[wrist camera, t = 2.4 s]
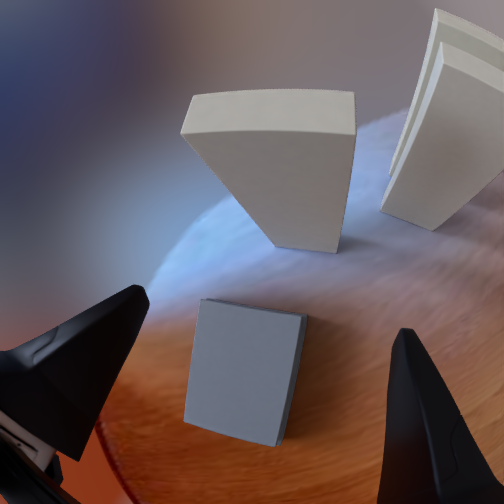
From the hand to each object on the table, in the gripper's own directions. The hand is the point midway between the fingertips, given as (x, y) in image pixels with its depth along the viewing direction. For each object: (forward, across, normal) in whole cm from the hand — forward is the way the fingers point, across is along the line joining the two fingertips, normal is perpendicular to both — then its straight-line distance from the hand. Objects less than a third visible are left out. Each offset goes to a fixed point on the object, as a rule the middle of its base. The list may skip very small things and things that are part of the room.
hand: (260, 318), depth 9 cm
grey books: (+5, +3, +13) cm, 15 cm away
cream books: (+17, -9, +2) cm, 19 cm away
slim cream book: (+13, 0, +5) cm, 14 cm away
